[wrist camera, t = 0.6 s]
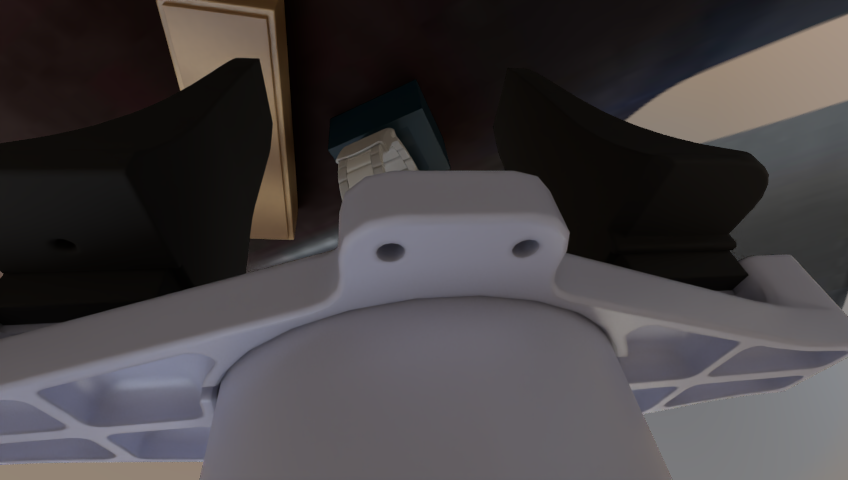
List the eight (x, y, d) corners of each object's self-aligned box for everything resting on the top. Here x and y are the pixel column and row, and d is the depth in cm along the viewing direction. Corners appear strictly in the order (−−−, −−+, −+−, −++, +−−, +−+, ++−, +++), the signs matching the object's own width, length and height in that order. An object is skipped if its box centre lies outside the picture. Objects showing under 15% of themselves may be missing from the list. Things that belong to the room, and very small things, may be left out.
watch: (379, 191, 28) (388, 329, 21) (313, 93, 23) (292, 237, 15) (454, 160, 27) (491, 296, 20) (403, 49, 21) (429, 183, 14)
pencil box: (298, 209, 29) (293, 243, 27) (229, 205, 28) (219, 240, 26) (283, -14, 19) (273, 12, 17) (175, -30, 18) (150, -6, 16)
